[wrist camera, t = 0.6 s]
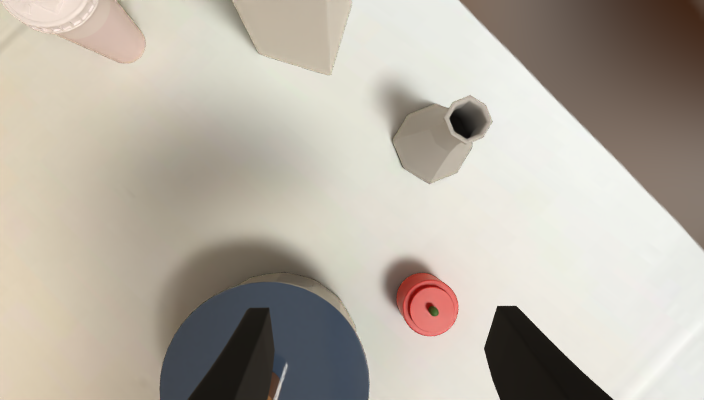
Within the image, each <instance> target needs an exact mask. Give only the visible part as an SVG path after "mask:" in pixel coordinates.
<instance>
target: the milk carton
mask: <svg viewBox="0 0 704 400" xmlns="http://www.w3.org/2000/svg"><path fill="white" fill-rule="evenodd" d="M232 2H233V4H234V6H235V8H236V10H237V12H238V14H239V16H240V18H241V20H242V22H243V24H244V26H245V28H246V30H247V31H248V33H249V35H250V37H251V39H252V41H253V43H254V45H255V47H256V49H257V51H258V53H259V54H261V55H263V56H266V57H270V58H273V59H276V60H279V61H283V62H286V63H289V64H292V65H296V66H299V67H302V68H305V69H309V70H312V71H315V72H318V73H322V74H325V75H331V73H332V70H333V67H334V63H335V60H336V57H337V53H338V50H339V47H340V43H341V40H342V37H343V33H344V30H345V27H346V23H347V20H348V17H349V13H350V10H351V7H352V0H232Z"/></svg>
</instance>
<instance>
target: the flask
mask: <svg viewBox="0 0 704 400" xmlns="http://www.w3.org/2000/svg"><path fill="white" fill-rule="evenodd" d="M492 122H493V121H492V119H491V116H490V114H489V112H488V109H487V107H486V105H485V104H484V103H482V102H480V101H479V100H477V99H476V98H474V97H472V96H471V95H470V96H467V97H465V98H462V99H459V100H457V101H454V102H453V103H452V104H451V106H450V107H449V108H446V107H443V106H441V105H438V104H433V105H431V106H428V107H426V108H423V109H420V110H418V111H415V112H413V113H410V114H408V115H407V117H406V118H405V120H404V122H403V123H402V125H401V127H400V128H399V130H398V132H397V133H396V135H395V136H394V138H393V140H392V141H393V143H394V146H395V148H396V151H397V153H398V156H399V158H400V161H401V163H402V166H403V168H404V169H406V170H407V171H409V172H411V173H412V174H414V175H415V176H417V177H419V178H420V179H422V180H424V181H425V182H427V183H429V184H431V183H433V182H436V181H438V180H440V179H443V178H445V177H448V176H450V175H453V174H455V173H457V172H458V170H459V169H460V167H461V165H462V164H463V162H464V160H465V159H466V157H467V155H468V153H469V152H470V150H471V148H472V142H474V141H476V140H479V139H481V138H483V137H484V135H485V134H486V132H487V130H488V129H489V127H490V125H491V124H492Z"/></svg>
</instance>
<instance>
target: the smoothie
mask: <svg viewBox="0 0 704 400" xmlns="http://www.w3.org/2000/svg"><path fill="white" fill-rule="evenodd" d="M1 2H2V4H3V5H4V7H5V8H6V9H7V11H8V12H9V13H10V14H11V15H12V16H14V17H15V18H16V19H18V20H19V21H21V22H22V23H24V24H25V25H27V26H28V27H30V28H32V29H33V30H37V31H40V32H43V33H52V34H55V35H57V36H60V37H62V38H65V39H67V40H69V41H71V42H74V43H76V44H78V45H80V46H83V47H85V48H87V49H89V50H92V51H94V52H96V53H98V54H101V55H103V56H105V57H107V58H110V59H112V60H114V61H117V62H119V63H132V62H134V61H136V60H138V59H139V58H140V57H141V56H142V54H143V53H144V50H145V45H146V42H145V38H144V35H143V34H142V32H141V31H140V30H139V28H138V27H137V26H136V24H135V23H134V22H133V21H132V19H131V18H130V17H129V16H128V14H127V13H126V12H125V11H124V9H123V8H122V7H121V5H120V4H119V3H118V2H117V0H1Z"/></svg>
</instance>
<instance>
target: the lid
mask: <svg viewBox="0 0 704 400" xmlns="http://www.w3.org/2000/svg"><path fill="white" fill-rule="evenodd" d="M249 308H269V309H270V317H271V324H272V332H273V340H274V348H275V353H274V362H273V371H272V378H271V385H270V390H269V394H268V399H267V400H368V398H369V370H368V365H367V360H366V355H365V352H364V349H363V346H362V344H361V341H360V339H359V337H358V335H357V333H356V331H355V329H354V328H353V327H352V325H351V324H350V322H349V321H348V319H347V318H346V317H345V316H344V315H343V314H342V313H341V311H340V310H339V309H338V308H336V307H335V306H334V305H333V304H332V303H331V302H329V301H328V300H327V299H325V298H324V297H322V296H320V295H319V294H317V293H315V292H313V291H311V290H309V289H307V288H304V287H301V286H298V285H295V284H291V283H286V282H280V281H257V282H250V283H245V284H240V285H237V286H234V287H231V288H229V289H226V290H224V291H222V292H220V293H218V294H216V295H214V296H213V297H211V298H210V299H208V300H207V301H205V302H204V303H202V304H201V305H200V306H199V307H198V308H197V309H196V310H194V311H193V312H192V313H191V314H190V315H189V316H188V318H187V319H186V320H185V321H184V322H183V323H182V325H181V326H180V328H179V329H178V331H177V332H176V334H175V335H174V337H173V339H172V341H171V343H170V345H169V347H168V349H167V352H166V355H165V358H164V361H163V366H162V371H161V376H160V400H187V399H188V398H189V397H190V395H191V394H192V392H193V391H194V390H195V388H196V387H197V386H198V384H199V383H200V382H201V380H202V379H203V378H204V376H205V375H206V374H207V372H208V371H209V369H210V368H211V367H212V365H213V364H214V362H215V361H216V359H217V358H218V356H219V355H220V353H221V352H222V350H223V349H224V347H225V346H226V344H227V343H228V341H229V339H230V338H231V336H232V335H233V333H234V331H235V330H236V328H237V326H238V325H239V323H240V321H241V319H242V318H243V316H244V314H245V312H246V310H247V309H249Z"/></svg>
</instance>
